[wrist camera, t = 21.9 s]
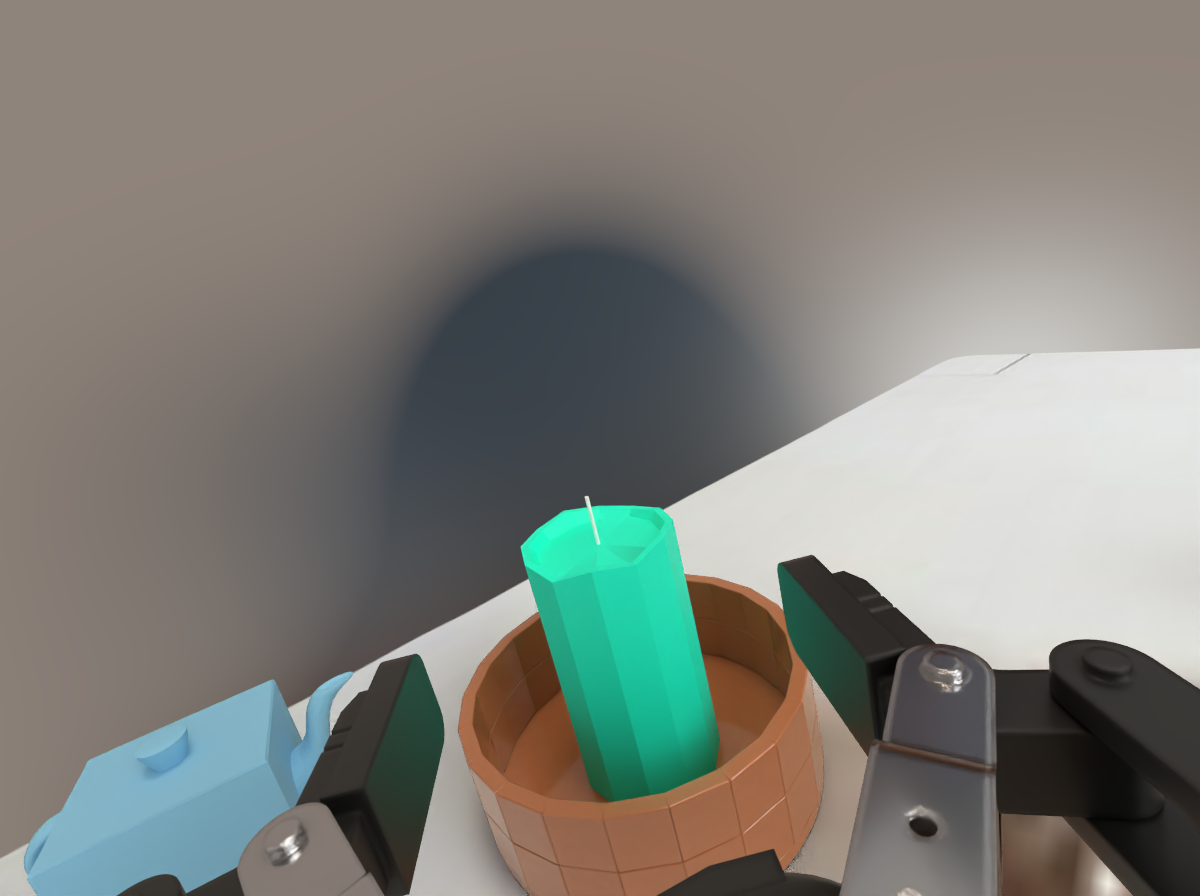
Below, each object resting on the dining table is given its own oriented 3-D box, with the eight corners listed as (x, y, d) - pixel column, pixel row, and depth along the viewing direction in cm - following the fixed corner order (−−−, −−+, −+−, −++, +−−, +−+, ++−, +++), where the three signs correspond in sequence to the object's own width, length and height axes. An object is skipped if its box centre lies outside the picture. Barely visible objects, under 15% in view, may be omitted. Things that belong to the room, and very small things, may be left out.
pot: (841, 971, 17) (819, 840, 15) (427, 903, 22) (383, 798, 20) (816, 652, 30) (803, 565, 28) (559, 654, 34) (538, 580, 33)
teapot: (392, 751, 30) (341, 626, 28) (412, 838, 24) (350, 691, 22) (114, 896, 25) (28, 758, 23) (63, 1043, 20) (-55, 881, 18)
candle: (562, 744, 27) (489, 506, 24) (669, 682, 29) (616, 458, 26) (626, 840, 21) (543, 551, 18) (750, 755, 24) (697, 485, 21)
